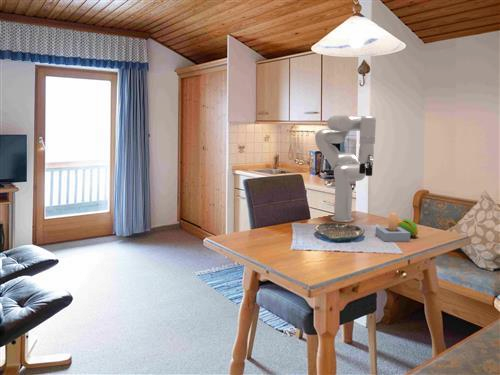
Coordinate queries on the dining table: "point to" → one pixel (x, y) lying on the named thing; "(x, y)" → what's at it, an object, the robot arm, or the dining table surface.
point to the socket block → (393, 234)
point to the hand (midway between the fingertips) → (365, 174)
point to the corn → (408, 226)
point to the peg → (393, 222)
